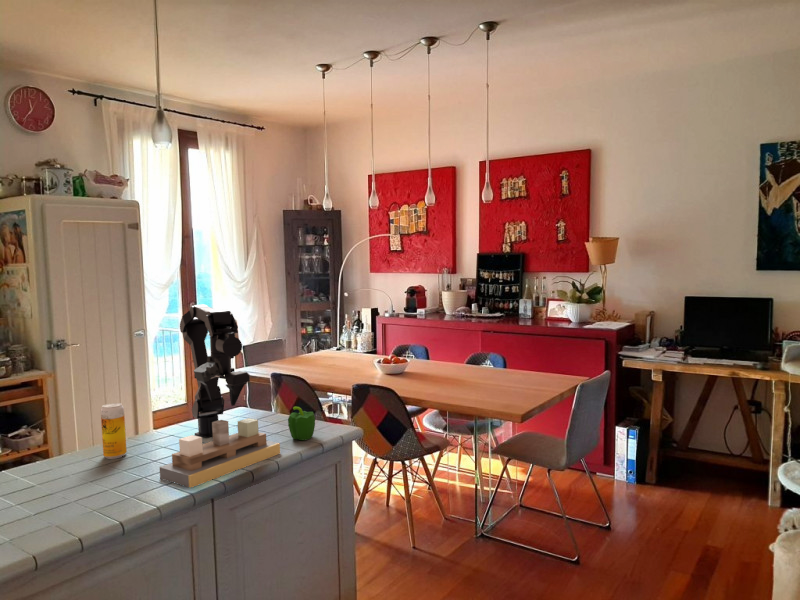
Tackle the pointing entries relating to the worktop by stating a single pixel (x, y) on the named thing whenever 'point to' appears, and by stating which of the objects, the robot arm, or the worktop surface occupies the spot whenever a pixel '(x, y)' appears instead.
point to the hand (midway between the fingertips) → (222, 403)
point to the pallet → (218, 446)
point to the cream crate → (190, 445)
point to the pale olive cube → (248, 427)
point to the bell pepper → (301, 424)
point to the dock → (219, 465)
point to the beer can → (113, 430)
